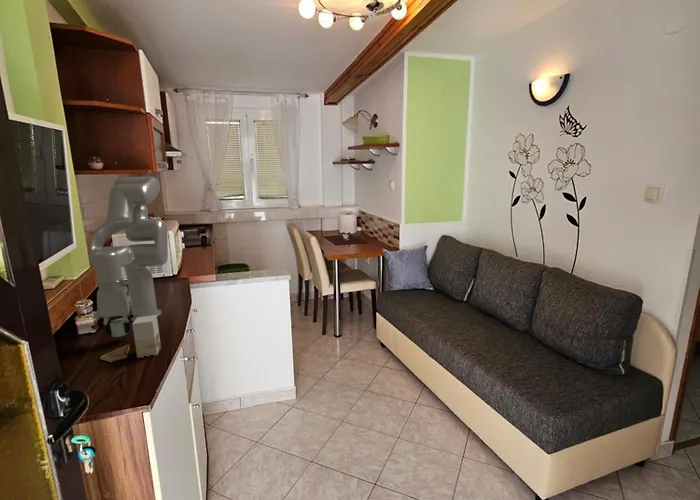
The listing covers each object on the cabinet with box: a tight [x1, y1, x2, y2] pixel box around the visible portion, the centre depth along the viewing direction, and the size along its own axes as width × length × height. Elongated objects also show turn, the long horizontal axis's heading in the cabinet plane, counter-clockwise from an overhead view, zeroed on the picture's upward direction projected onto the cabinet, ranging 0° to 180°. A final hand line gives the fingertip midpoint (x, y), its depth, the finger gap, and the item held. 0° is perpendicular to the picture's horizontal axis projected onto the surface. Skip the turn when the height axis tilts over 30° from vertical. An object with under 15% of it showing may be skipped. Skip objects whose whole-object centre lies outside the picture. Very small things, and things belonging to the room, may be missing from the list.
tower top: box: [131, 315, 160, 342], centre depth 128 cm, size 6×6×6 cm
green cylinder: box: [110, 318, 128, 338], centre depth 139 cm, size 5×5×5 cm
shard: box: [99, 343, 131, 363], centre depth 129 cm, size 11×8×2 cm
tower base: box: [134, 331, 162, 358], centre depth 129 cm, size 6×6×6 cm
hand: (119, 332), depth 139 cm, fingers closed on green cylinder, 4 cm apart
